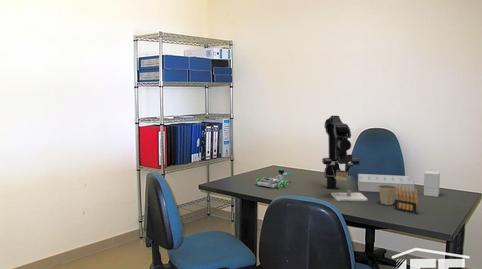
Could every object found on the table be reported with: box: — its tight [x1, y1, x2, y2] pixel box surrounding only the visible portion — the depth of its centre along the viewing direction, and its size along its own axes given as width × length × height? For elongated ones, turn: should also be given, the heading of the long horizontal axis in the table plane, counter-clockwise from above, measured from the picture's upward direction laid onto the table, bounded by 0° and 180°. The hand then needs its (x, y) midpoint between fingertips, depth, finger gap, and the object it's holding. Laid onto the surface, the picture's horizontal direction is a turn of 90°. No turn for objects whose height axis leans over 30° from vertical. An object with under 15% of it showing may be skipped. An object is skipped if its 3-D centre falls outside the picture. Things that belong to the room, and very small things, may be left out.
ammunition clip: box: [393, 185, 419, 215], centre depth 197 cm, size 11×2×12 cm, turn 44°
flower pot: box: [378, 185, 397, 206], centre depth 211 cm, size 9×9×9 cm
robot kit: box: [255, 168, 293, 190], centre depth 255 cm, size 19×25×9 cm
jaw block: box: [334, 169, 348, 181], centre depth 222 cm, size 7×5×4 cm
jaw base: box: [330, 189, 368, 202], centre depth 223 cm, size 13×16×4 cm
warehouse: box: [357, 173, 416, 195], centre depth 242 cm, size 30×14×8 cm, turn 76°
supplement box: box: [423, 170, 441, 197], centre depth 229 cm, size 7×7×13 cm
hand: (340, 177), depth 223 cm, fingers closed on jaw block, 5 cm apart
